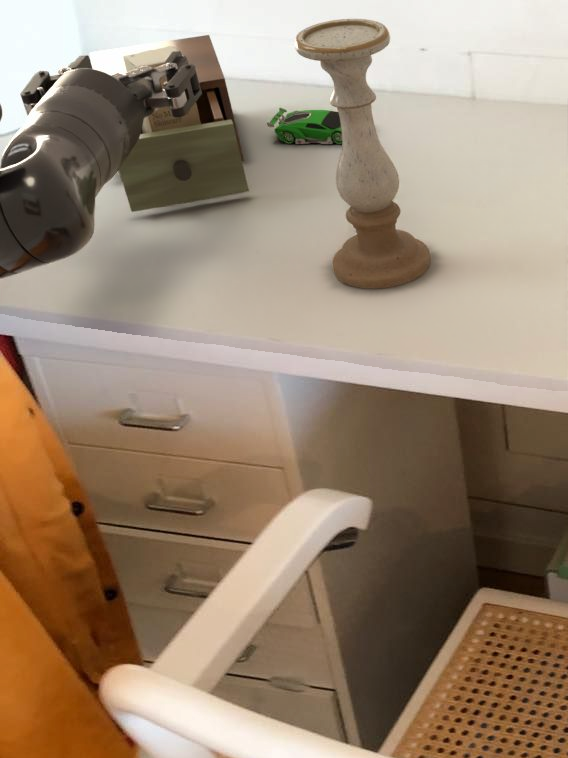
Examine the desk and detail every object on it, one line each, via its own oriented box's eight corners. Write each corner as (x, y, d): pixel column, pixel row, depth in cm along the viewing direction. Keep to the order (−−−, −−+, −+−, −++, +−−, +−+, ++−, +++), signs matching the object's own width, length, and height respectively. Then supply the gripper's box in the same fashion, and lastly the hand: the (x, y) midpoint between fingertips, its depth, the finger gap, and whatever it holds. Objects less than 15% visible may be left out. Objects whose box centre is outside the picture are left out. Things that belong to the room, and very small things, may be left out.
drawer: (250, 196, 128) (234, 127, 123) (132, 217, 125) (111, 148, 121) (232, 142, 138) (217, 77, 134) (123, 160, 136) (103, 95, 131)
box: (164, 182, 129) (131, 67, 121) (151, 168, 131) (118, 54, 124) (215, 169, 131) (186, 55, 123) (201, 155, 133) (172, 43, 126)
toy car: (371, 128, 142) (368, 107, 141) (359, 145, 139) (355, 124, 137) (284, 127, 143) (279, 106, 142) (270, 144, 140) (265, 123, 138)
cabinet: (244, 161, 137) (224, 78, 131) (121, 182, 134) (96, 98, 128) (228, 113, 147) (209, 34, 141) (113, 132, 144) (89, 52, 139)
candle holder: (348, 298, 113) (300, 59, 100) (323, 257, 119) (275, 27, 106) (443, 275, 116) (409, 39, 102) (414, 236, 122) (378, 8, 108)
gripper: (154, 82, 105) (200, 17, 117) (-21, 90, 105) (43, 24, 117) (179, 173, 110) (221, 101, 122) (12, 180, 110) (70, 108, 122)
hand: (134, 64), depth 119 cm, fingers open, 8 cm apart
